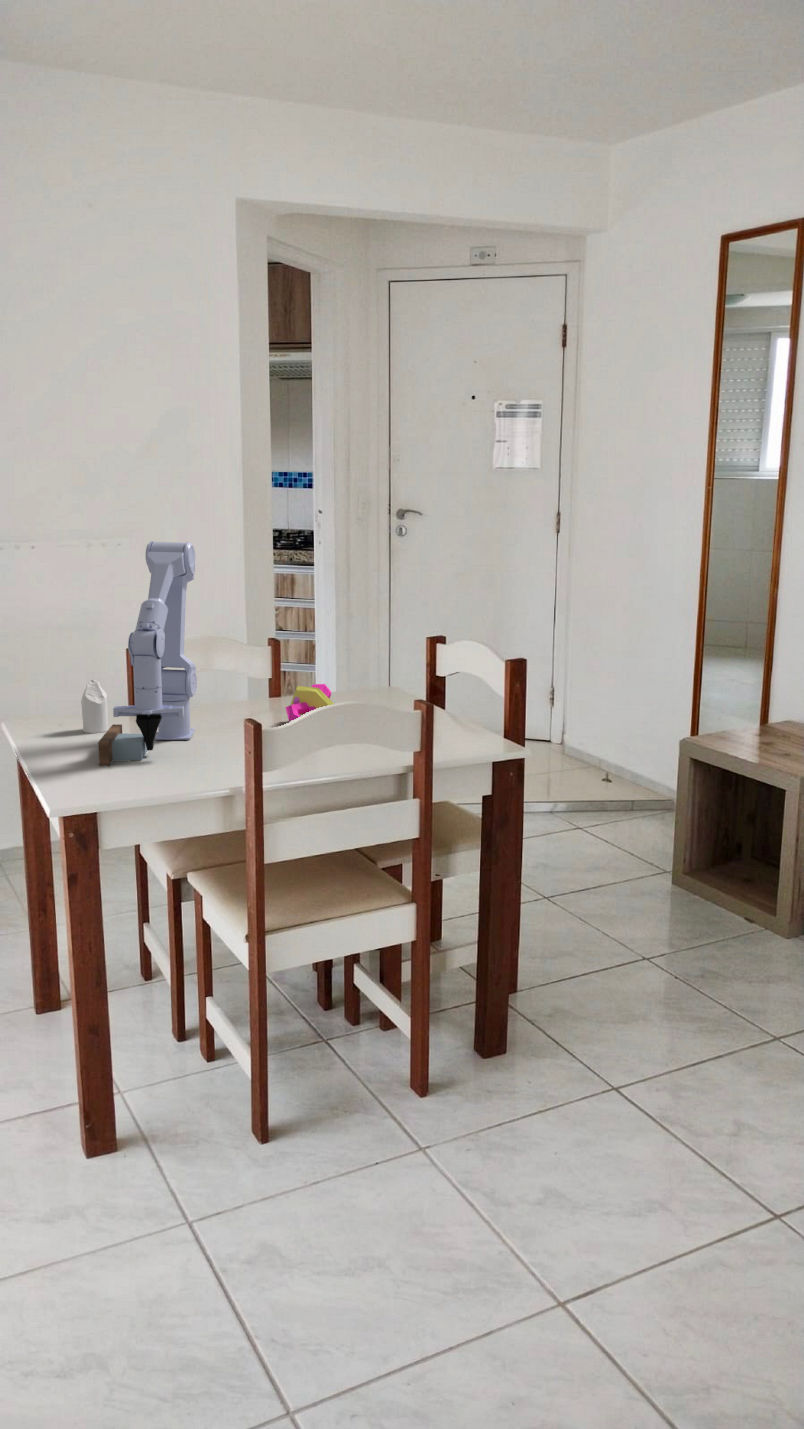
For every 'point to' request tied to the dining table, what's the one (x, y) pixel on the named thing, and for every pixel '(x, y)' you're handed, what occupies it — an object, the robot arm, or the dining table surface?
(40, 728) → the dining table surface
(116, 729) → the walnut board
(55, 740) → the dining table surface
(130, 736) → the slate block
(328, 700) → the toy
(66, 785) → the dining table surface
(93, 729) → the crumpled white cylinder
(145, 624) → the robot arm
